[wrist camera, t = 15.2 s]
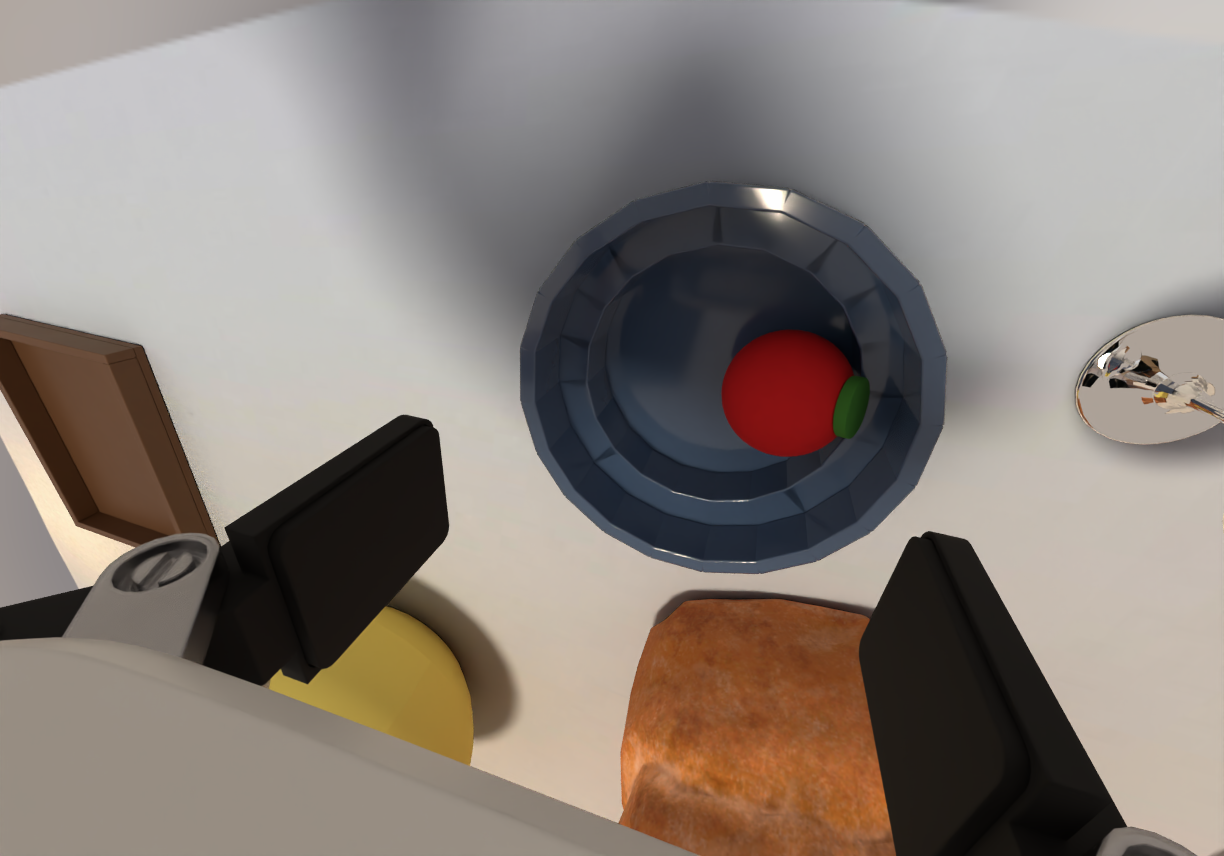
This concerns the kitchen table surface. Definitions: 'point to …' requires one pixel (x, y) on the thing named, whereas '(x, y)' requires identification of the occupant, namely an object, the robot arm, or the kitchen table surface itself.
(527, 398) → the bowl
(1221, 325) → the wineglass
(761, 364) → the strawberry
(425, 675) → the vase
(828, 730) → the bread
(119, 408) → the serving tray
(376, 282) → the kitchen table surface
